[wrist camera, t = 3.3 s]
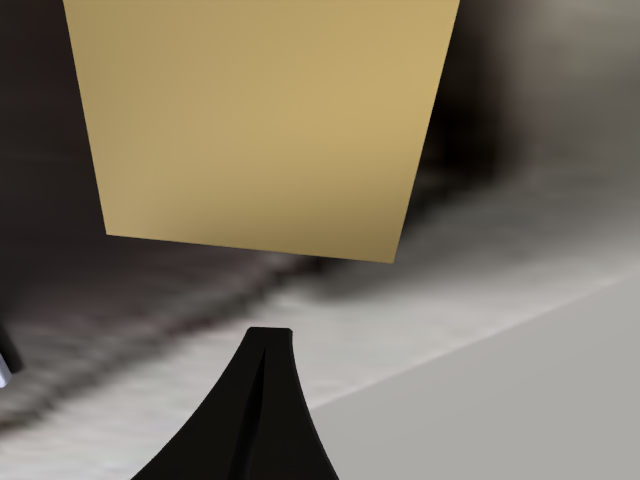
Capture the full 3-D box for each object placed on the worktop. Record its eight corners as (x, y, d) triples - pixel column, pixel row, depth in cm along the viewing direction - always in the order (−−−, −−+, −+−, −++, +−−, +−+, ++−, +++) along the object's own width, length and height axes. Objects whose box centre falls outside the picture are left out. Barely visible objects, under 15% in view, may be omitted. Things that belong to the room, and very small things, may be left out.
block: (158, 178, 13) (106, 234, 10) (129, -111, 9) (32, -164, 6) (377, 202, 13) (393, 263, 10) (433, -67, 9) (484, -97, 6)
